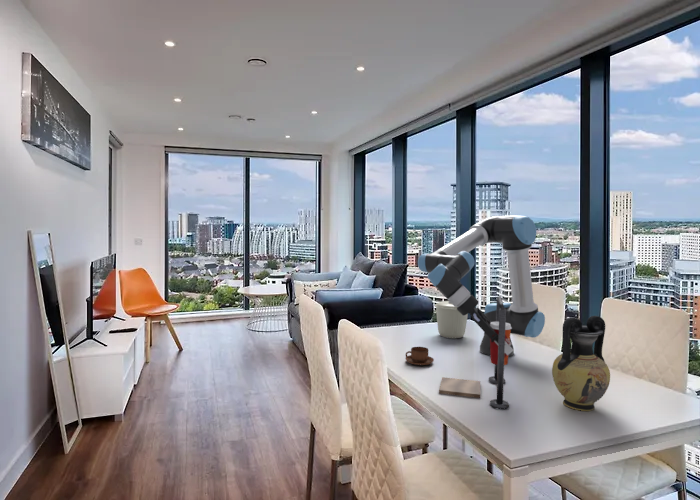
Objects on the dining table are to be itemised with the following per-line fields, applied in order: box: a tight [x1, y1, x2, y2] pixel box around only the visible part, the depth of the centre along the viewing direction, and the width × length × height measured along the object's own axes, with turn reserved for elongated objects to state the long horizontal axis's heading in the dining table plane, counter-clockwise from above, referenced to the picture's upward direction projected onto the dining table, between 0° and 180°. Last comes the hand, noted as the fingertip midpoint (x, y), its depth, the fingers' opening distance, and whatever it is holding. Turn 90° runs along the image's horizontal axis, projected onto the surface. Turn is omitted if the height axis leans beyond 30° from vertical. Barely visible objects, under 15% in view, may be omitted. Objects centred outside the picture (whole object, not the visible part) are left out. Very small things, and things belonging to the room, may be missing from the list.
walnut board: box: [438, 376, 481, 399], centre depth 164 cm, size 14×14×1 cm
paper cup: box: [490, 322, 512, 366], centre depth 159 cm, size 8×8×14 cm
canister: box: [434, 300, 469, 339], centre depth 240 cm, size 18×18×21 cm
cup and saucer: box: [405, 346, 435, 366], centre depth 194 cm, size 12×12×6 cm
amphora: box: [551, 315, 611, 412], centre depth 149 cm, size 18×17×30 cm
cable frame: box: [488, 296, 510, 411], centre depth 159 cm, size 30×6×33 cm, turn 164°
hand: (509, 349), depth 158 cm, fingers closed on paper cup, 8 cm apart
